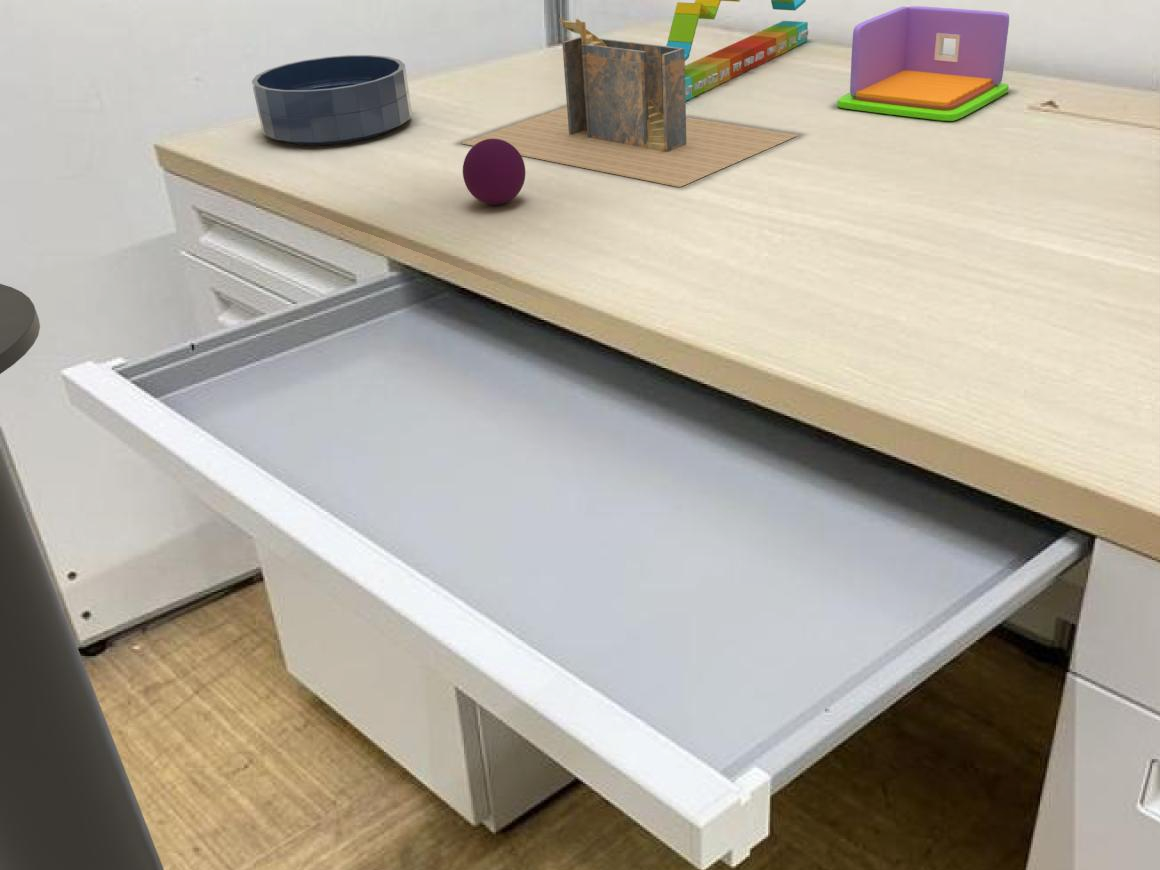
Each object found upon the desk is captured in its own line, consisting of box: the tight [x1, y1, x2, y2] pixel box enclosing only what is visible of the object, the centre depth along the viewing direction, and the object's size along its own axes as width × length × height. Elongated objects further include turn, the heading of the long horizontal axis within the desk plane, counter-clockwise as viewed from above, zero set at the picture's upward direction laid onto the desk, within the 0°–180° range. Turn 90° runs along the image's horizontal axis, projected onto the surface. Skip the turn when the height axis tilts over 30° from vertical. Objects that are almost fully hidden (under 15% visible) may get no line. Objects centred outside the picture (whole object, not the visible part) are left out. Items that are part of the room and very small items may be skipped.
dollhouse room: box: [836, 5, 1010, 122], centre depth 111 cm, size 12×12×7 cm
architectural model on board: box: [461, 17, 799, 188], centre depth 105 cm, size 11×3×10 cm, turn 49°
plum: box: [462, 139, 526, 206], centre depth 95 cm, size 5×5×5 cm
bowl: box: [251, 54, 413, 146], centre depth 116 cm, size 14×14×5 cm
